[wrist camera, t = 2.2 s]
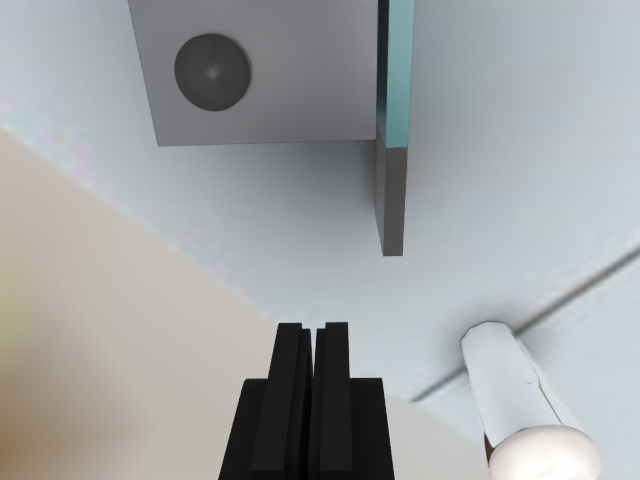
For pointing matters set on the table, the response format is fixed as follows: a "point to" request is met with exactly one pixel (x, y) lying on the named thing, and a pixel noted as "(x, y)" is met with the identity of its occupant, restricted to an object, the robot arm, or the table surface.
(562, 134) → the table surface
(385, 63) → the door
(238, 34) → the camera case
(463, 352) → the milkshake
